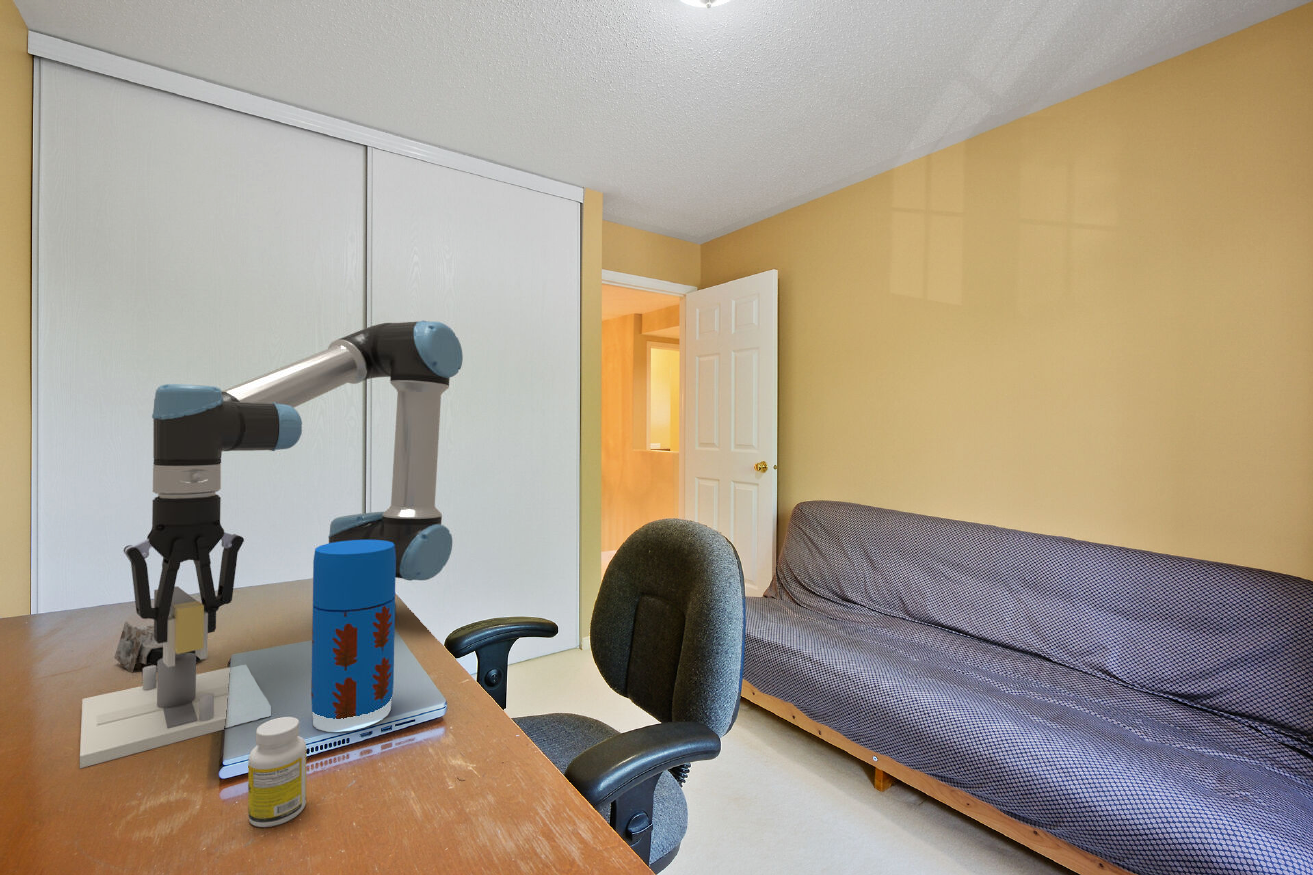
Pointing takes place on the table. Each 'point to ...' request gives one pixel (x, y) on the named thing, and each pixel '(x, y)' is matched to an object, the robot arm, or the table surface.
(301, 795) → the supplement bottle
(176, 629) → the grey yellow rectangular block
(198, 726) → the base plate
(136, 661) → the caster wheel
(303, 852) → the table surface
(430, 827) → the table surface
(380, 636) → the thermos
